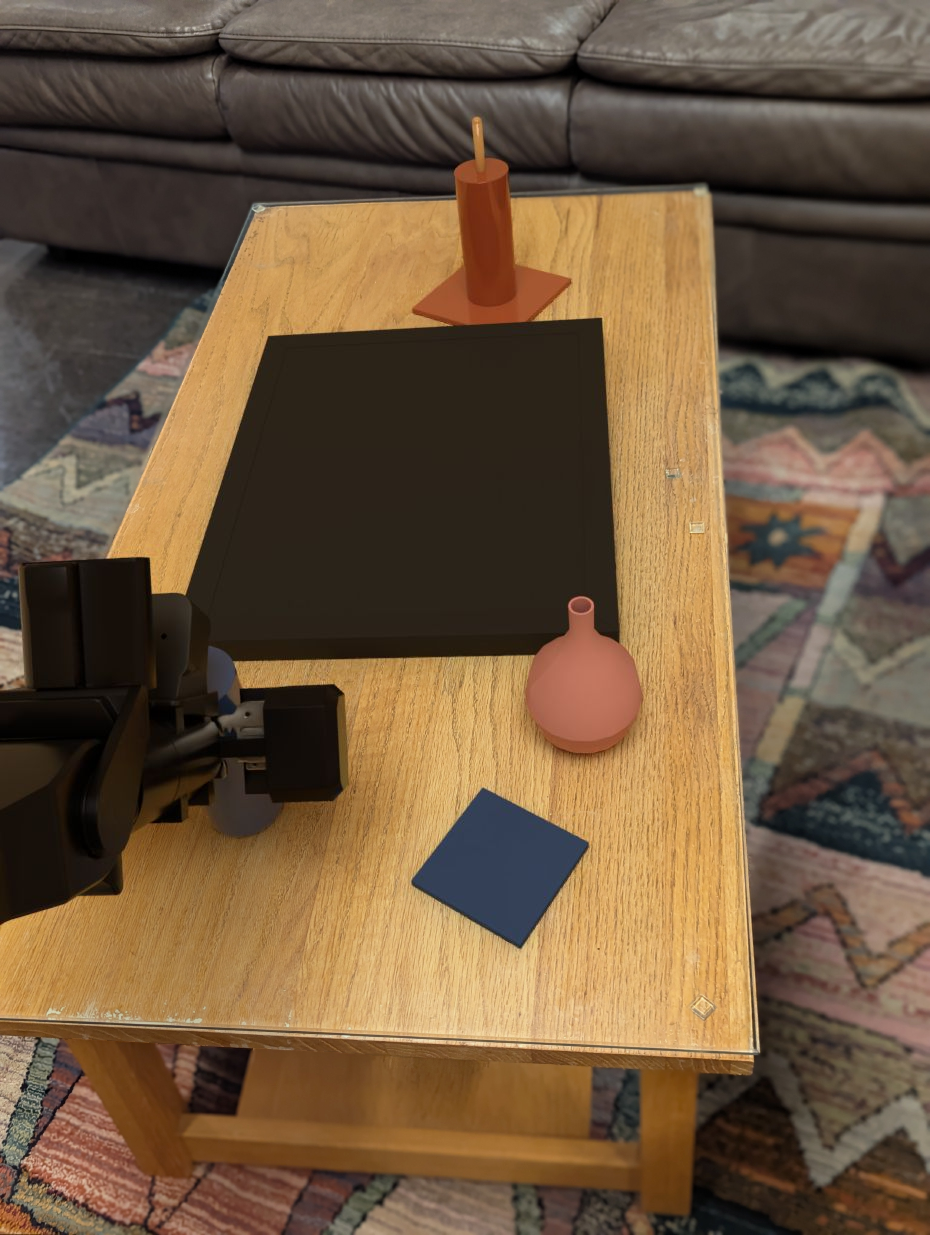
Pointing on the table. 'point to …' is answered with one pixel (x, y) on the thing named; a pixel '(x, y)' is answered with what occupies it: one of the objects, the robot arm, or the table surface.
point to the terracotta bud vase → (583, 686)
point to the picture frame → (414, 495)
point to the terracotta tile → (524, 307)
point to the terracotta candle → (486, 226)
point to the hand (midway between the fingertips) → (224, 726)
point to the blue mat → (500, 866)
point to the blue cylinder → (234, 763)
